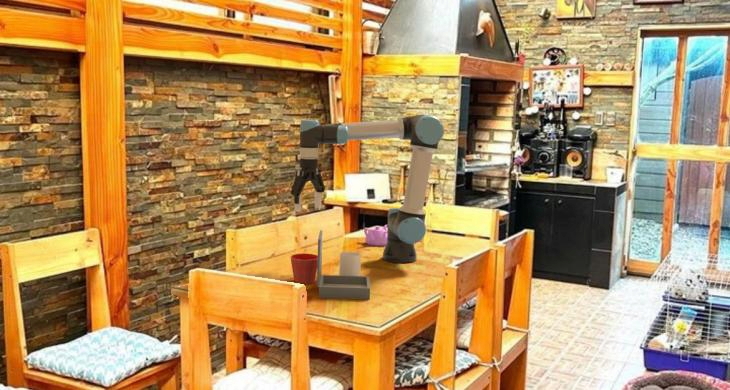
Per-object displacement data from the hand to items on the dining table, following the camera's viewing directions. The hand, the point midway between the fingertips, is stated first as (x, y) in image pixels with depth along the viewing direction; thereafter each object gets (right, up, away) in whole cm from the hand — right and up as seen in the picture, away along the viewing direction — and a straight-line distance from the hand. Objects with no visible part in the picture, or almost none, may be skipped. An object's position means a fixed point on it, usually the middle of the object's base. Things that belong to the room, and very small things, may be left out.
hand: (307, 209), depth 288 cm
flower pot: (0, -27, -18) cm, 33 cm away
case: (+15, -29, -31) cm, 45 cm away
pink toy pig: (+29, -18, +56) cm, 66 cm away
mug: (+17, -27, -11) cm, 34 cm away
